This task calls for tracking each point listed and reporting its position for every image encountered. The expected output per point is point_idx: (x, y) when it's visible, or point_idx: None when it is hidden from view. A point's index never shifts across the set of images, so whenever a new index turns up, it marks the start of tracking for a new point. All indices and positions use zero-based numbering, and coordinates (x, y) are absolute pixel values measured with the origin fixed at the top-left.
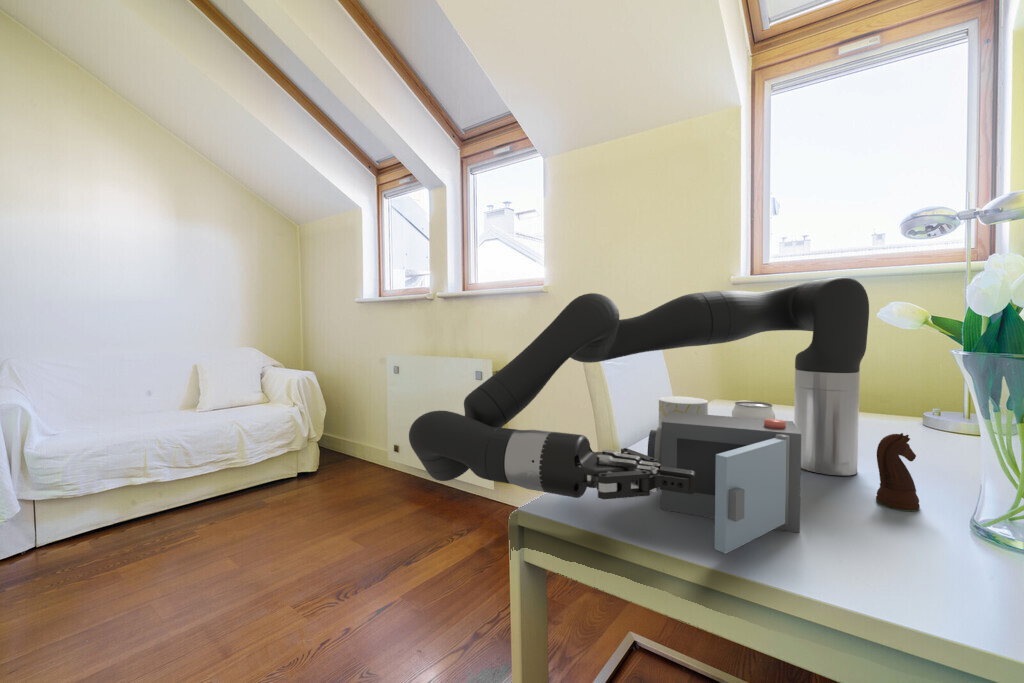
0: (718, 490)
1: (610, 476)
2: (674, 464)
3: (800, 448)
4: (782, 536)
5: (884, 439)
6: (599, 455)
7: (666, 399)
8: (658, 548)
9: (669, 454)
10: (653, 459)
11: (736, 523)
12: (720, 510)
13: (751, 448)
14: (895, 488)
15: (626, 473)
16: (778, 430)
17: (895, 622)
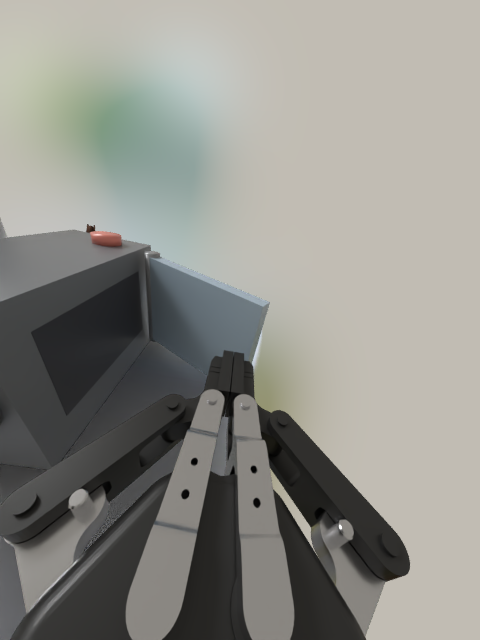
0: (253, 344)
1: (378, 514)
2: (46, 385)
3: None
4: (162, 346)
5: (88, 232)
6: (265, 630)
7: None
8: (221, 471)
9: (29, 378)
10: (177, 400)
11: None
12: (250, 360)
13: (213, 280)
14: None
15: (319, 465)
16: (131, 247)
17: (261, 335)
